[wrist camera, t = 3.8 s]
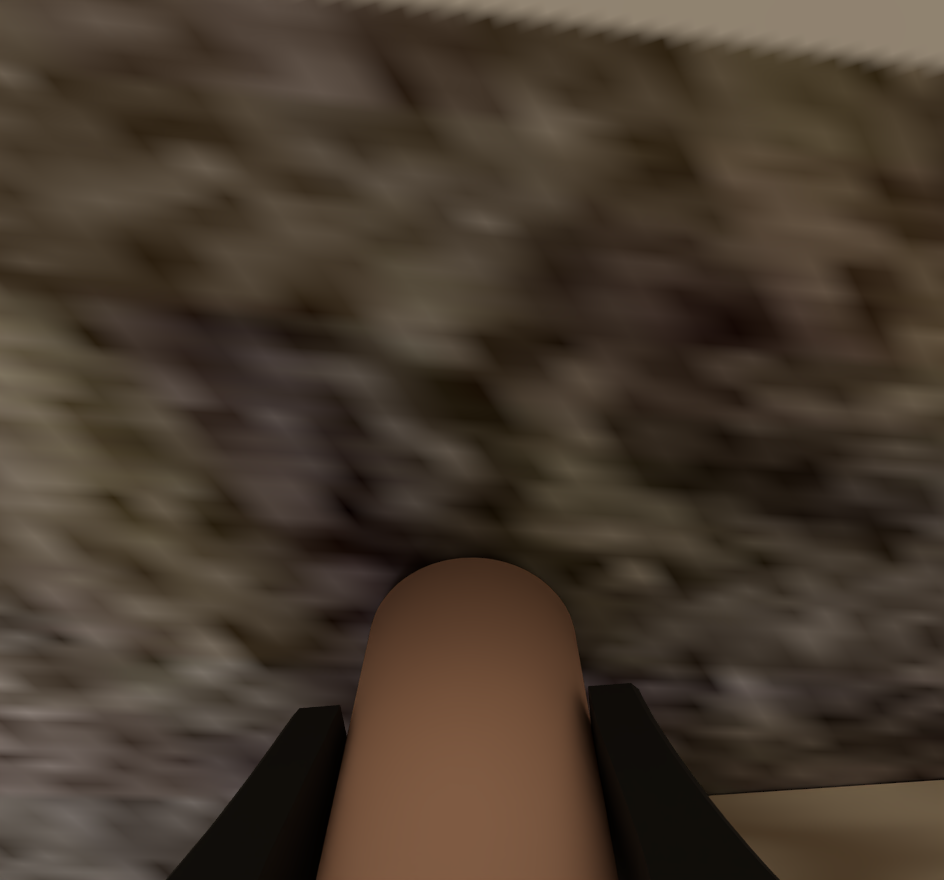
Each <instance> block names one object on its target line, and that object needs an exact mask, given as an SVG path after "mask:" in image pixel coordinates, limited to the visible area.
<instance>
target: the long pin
mask: <svg viewBox="0 0 944 880" xmlns="http://www.w3.org/2000/svg"><path fill="white" fill-rule="evenodd" d="M316 880H618V875H617V869H616V863H615V858H614V852H613V846H612V840H611V835H610V829H609V823H608V818H607V812H606V806H605V800H604V795H603V789H602V784H601V780H600V775H599V769H598V763H597V758H596V752H595V746H594V740H593V734H592V729H591V721H590V715H589V709H588V703H587V698H586V692H585V686H584V681H583V675H582V669H581V663H580V658H579V652H578V646H577V641H576V635H575V629H574V625H573V622H572V619H571V616H570V614H569V612H568V610H567V608H566V606H565V605H564V603H563V602H562V600H561V599H560V598H559V596H558V595H557V594H556V593H555V592H554V591H553V590H552V589H551V588H550V587H549V586H548V585H547V584H546V583H545V582H543V581H542V580H541V579H540V578H538V577H537V576H535V575H533V574H532V573H530V572H528V571H526V570H524V569H522V568H520V567H518V566H515V565H512V564H509V563H506V562H503V561H498V560H493V559H488V558H474V557H473V558H457V559H450V560H445V561H441V562H438V563H434V564H431V565H429V566H426V567H424V568H421V569H419V570H417V571H416V572H414V573H412V574H410V575H409V576H407V577H406V578H405V579H403V580H402V581H401V582H399V583H398V584H397V585H396V586H395V587H394V588H393V589H392V590H391V591H390V592H389V593H388V594H387V596H386V597H385V598H384V600H383V601H382V602H381V604H380V606H379V608H378V609H377V611H376V613H375V616H374V619H373V622H372V625H371V629H370V634H369V639H368V643H367V648H366V652H365V657H364V662H363V666H362V671H361V675H360V680H359V684H358V689H357V694H356V698H355V703H354V707H353V712H352V716H351V721H350V726H349V730H348V735H347V739H346V744H345V749H344V753H343V758H342V762H341V767H340V771H339V776H338V781H337V785H336V790H335V794H334V799H333V804H332V808H331V813H330V817H329V822H328V826H327V831H326V836H325V840H324V845H323V849H322V854H321V858H320V863H319V868H318V872H317V877H316Z"/></svg>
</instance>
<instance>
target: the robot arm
mask: <svg viewBox="0 0 944 880" xmlns="http://www.w3.org/2000/svg"><path fill="white" fill-rule="evenodd" d="M588 690H589V705H590V721H591V729H592V734H593V740H594V746H595V752H596V758H597V763H598V769H599V775H600V780H601V784H602V789H603V795H604V800H605V806H606V812H607V818H608V823H609V829H610V835H611V840H612V846H613V852H614V858H615V863H616V869H617V875H618V880H780V879H779V878H778V877H777V876H776V875H775V874H774V873H773V872H772V871H771V870H770V869H769V867H768V866H767V865H766V864H765V863H764V862H763V861H762V860H761V859H760V858H759V856H758V855H757V854H756V853H755V852H754V851H753V850H752V849H751V847H750V846H749V845H748V844H747V843H746V842H745V840H744V839H743V838H742V837H741V836H740V834H739V833H738V832H737V831H736V830H735V829H734V827H733V826H732V825H731V824H730V823H729V821H728V820H727V819H726V818H725V817H724V815H723V814H722V813H721V812H720V810H719V809H718V808H717V807H716V805H715V804H714V803H713V801H712V800H711V799H710V798H709V796H708V795H707V794H706V792H705V791H704V790H703V788H702V787H701V786H700V784H699V783H698V782H697V780H696V779H695V778H694V776H693V775H692V774H691V772H690V771H689V769H688V768H687V767H686V765H685V764H684V763H683V761H682V760H681V758H680V757H679V755H678V754H677V753H676V751H675V750H674V748H673V747H672V745H671V744H670V742H669V741H668V739H667V738H666V736H665V735H664V733H663V731H662V730H661V728H660V727H659V725H658V723H657V722H656V720H655V719H654V717H653V715H652V714H651V712H650V710H649V708H648V707H647V705H646V703H645V701H644V699H643V697H642V695H641V693H640V691H639V689H637V688H636V687H635V686H634V685H632V684H631V683H626V684H613V685H600V686H588ZM346 739H347V736H346V731H345V726H344V721H343V717H342V712H341V707H340V705H336V706H322V707H309V708H299V709H298V711H297V712H296V713H295V714H294V715H293V716H292V718H291V719H290V721H289V722H288V723H287V725H286V726H285V728H284V729H283V730H282V732H281V733H280V735H279V736H278V737H277V739H276V740H275V742H274V743H273V744H272V746H271V747H270V749H269V750H268V751H267V753H266V754H265V756H264V757H263V758H262V760H261V761H260V762H259V764H258V765H257V767H256V768H255V769H254V771H253V772H252V773H251V775H250V776H249V778H248V779H247V780H246V782H245V783H244V784H243V786H242V787H241V788H240V789H239V791H238V792H237V793H236V795H235V796H234V797H233V799H232V800H231V801H230V802H229V804H228V805H227V806H226V808H225V809H224V810H223V811H222V813H221V814H220V815H219V817H218V818H217V819H216V821H215V822H214V823H213V824H212V826H211V827H210V828H209V829H208V831H207V832H206V833H205V834H204V835H203V837H202V838H201V839H200V840H199V841H198V843H197V844H196V845H195V846H194V847H193V848H192V850H191V851H190V852H189V853H188V854H187V856H186V857H185V858H184V859H183V860H182V861H181V863H180V864H179V865H178V866H177V867H176V869H175V870H174V871H173V872H172V873H171V874H170V876H169V877H168V878H167V879H166V880H316V877H317V872H318V868H319V863H320V858H321V854H322V849H323V845H324V840H325V836H326V831H327V826H328V822H329V817H330V813H331V808H332V804H333V799H334V794H335V790H336V785H337V781H338V776H339V771H340V767H341V762H342V758H343V753H344V749H345V744H346Z"/></svg>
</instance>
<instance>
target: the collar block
mask: <svg viewBox="0 0 944 880" xmlns="http://www.w3.org/2000/svg"><path fill="white" fill-rule="evenodd" d="M709 798H710V799H711V800H712V801H713V803H714V804H715V805H716V807H717V808H718V809H719V810H720V812H721V813H722V814H723V815H724V817H725V818H726V819H727V820H728V821H729V823H730V824H731V825H732V826H733V827H734V829H735V830H736V831H737V832H738V833H739V834H740V836H741V837H742V838H743V839H744V840H745V842H746V843H747V844H748V845H749V846H750V847H751V849H752V850H753V851H754V852H755V853H756V854H757V855H758V856H759V858H760V859H761V860H762V861H763V862H764V863H765V864H766V865H767V866H768V867H769V869H770V870H771V871H772V872H773V873H774V874H775V875H776V876H777V877H778V878H779V879H780V880H944V780H934V781H919V782H905V783H890V784H875V785H860V786H845V787H830V788H815V789H801V790H786V791H771V792H756V793H741V794H726V795H711V796H709Z"/></svg>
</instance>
